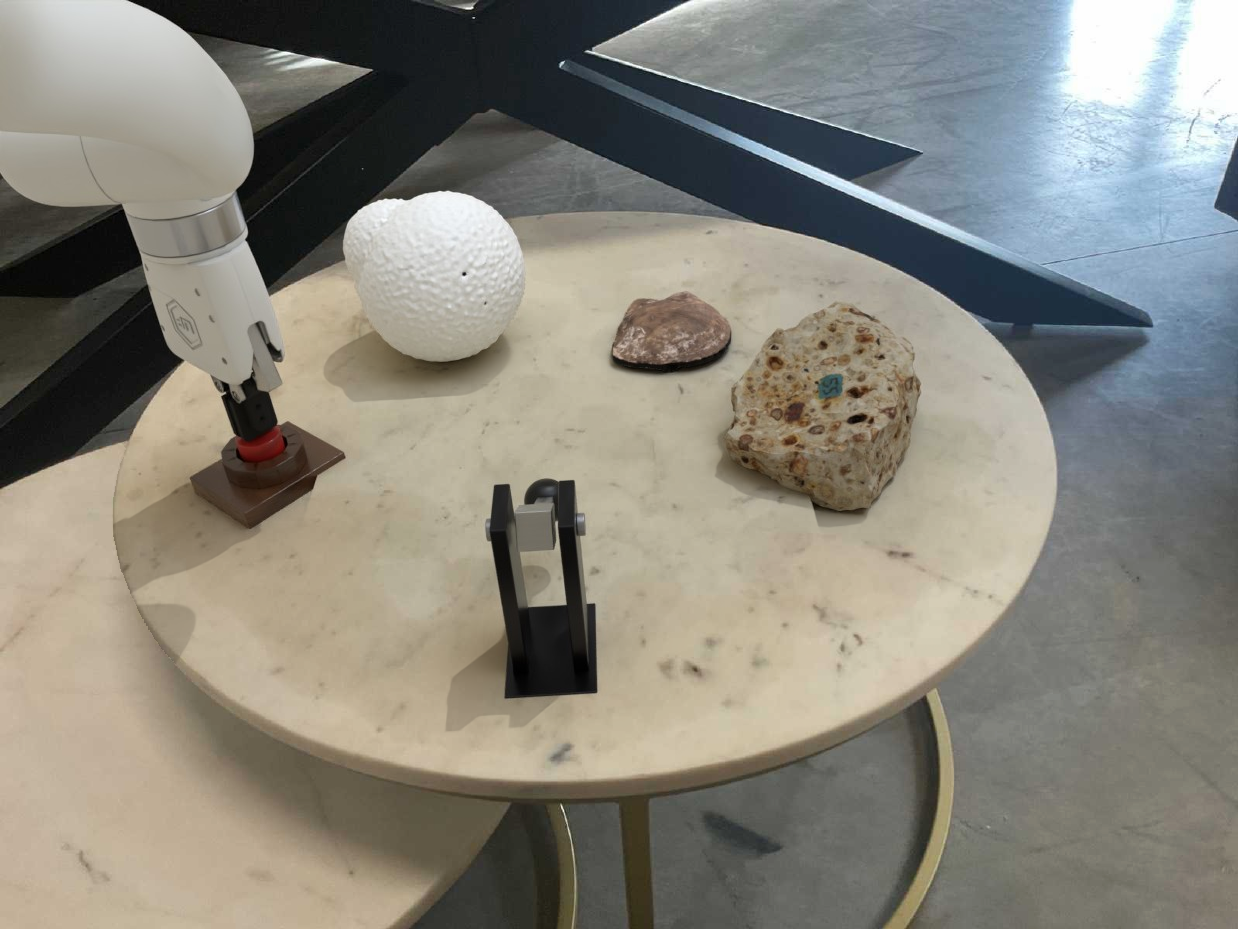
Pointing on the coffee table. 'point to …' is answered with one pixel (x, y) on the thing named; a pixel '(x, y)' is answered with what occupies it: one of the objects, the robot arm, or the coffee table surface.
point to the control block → (265, 476)
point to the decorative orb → (435, 273)
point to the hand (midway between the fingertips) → (256, 430)
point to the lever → (538, 517)
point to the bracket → (544, 607)
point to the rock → (827, 407)
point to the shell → (670, 333)
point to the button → (261, 446)
